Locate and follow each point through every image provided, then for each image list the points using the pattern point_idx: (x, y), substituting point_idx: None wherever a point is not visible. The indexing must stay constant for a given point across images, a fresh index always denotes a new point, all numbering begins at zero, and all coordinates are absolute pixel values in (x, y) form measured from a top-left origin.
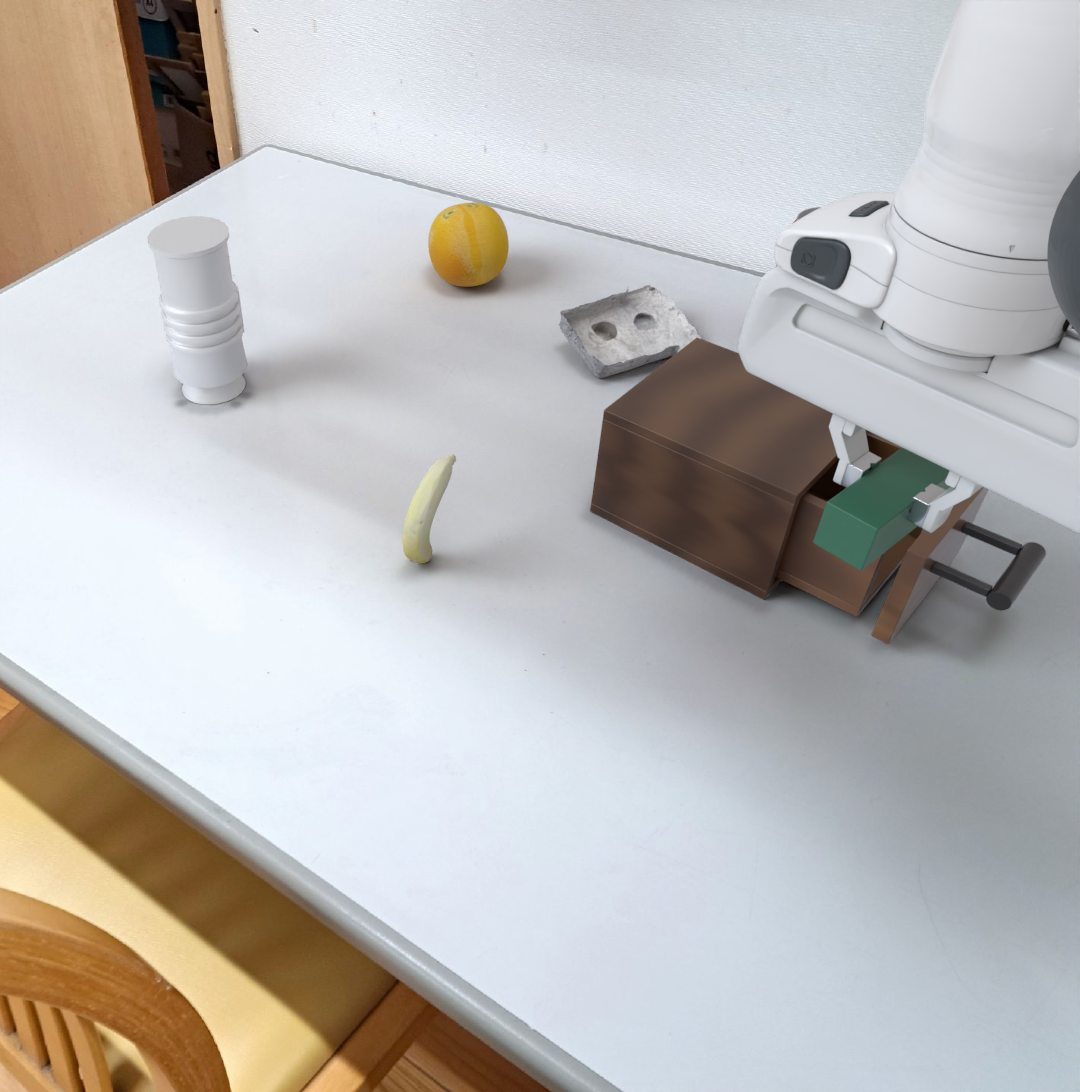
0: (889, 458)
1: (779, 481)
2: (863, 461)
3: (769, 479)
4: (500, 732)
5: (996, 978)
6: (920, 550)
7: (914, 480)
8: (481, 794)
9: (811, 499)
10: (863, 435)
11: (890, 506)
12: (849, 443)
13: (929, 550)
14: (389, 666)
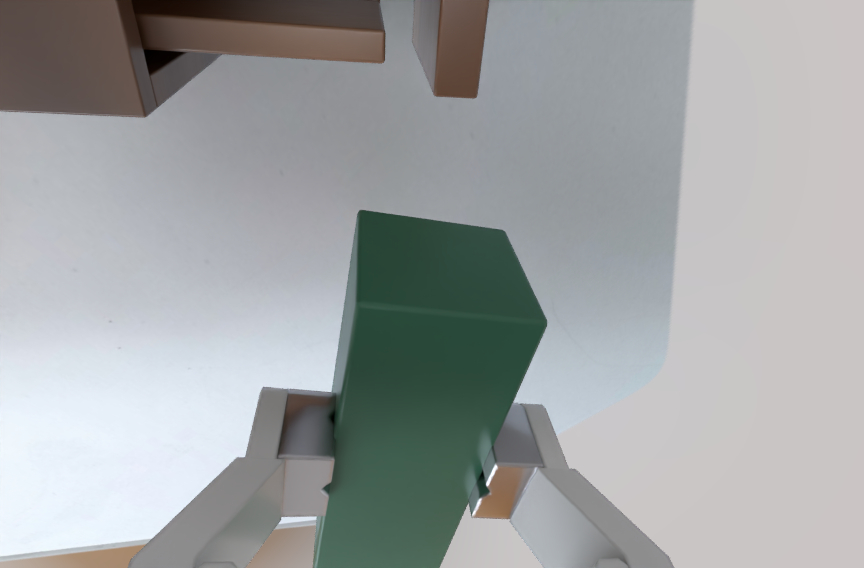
0: (346, 412)
1: (69, 88)
2: (302, 495)
3: (45, 96)
4: (175, 408)
5: (620, 347)
6: (458, 80)
7: (446, 441)
8: (220, 450)
9: (166, 37)
10: (243, 513)
11: (432, 529)
12: (239, 563)
13: (475, 65)
14: (23, 419)
